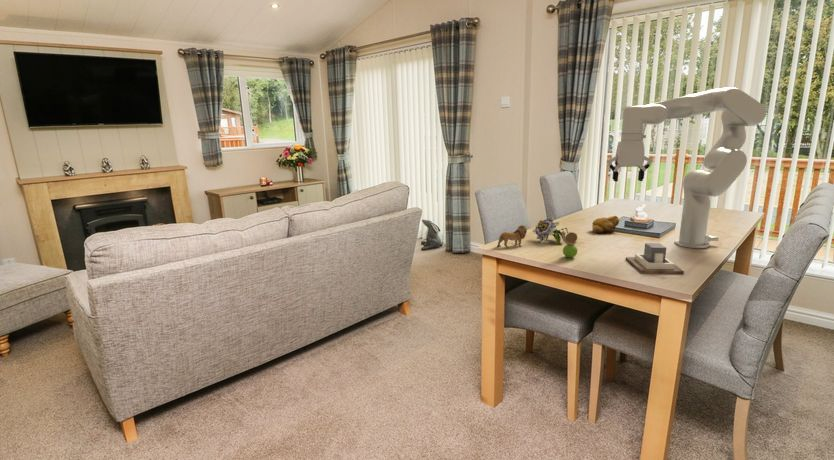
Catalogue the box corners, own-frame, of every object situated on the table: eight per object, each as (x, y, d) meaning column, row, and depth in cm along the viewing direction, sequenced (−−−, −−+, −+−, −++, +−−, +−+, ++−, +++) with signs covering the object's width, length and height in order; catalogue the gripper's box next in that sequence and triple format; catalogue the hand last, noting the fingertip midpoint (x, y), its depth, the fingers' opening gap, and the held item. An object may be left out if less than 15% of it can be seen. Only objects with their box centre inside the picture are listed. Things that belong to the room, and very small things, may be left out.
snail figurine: (557, 256, 176) (559, 227, 174) (573, 255, 177) (575, 226, 174) (563, 260, 171) (565, 230, 168) (579, 259, 172) (581, 229, 169)
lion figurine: (522, 243, 197) (522, 223, 194) (529, 245, 192) (530, 225, 190) (493, 247, 192) (493, 227, 190) (500, 250, 187) (500, 229, 185)
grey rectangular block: (657, 261, 164) (659, 243, 162) (665, 267, 157) (667, 248, 155) (643, 261, 164) (645, 243, 162) (651, 267, 157) (653, 248, 156)
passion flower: (540, 255, 199) (525, 229, 201) (558, 245, 204) (543, 220, 207) (557, 245, 188) (541, 218, 190) (576, 235, 193) (560, 209, 196)
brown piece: (664, 259, 168) (664, 252, 167) (683, 273, 153) (684, 265, 152) (625, 259, 170) (626, 252, 169) (641, 273, 154) (642, 265, 154)
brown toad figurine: (599, 235, 206) (600, 218, 204) (584, 231, 215) (585, 215, 213) (620, 232, 211) (621, 216, 209) (605, 228, 219) (606, 212, 217)
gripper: (650, 137, 177) (646, 179, 181) (605, 138, 179) (602, 180, 183) (658, 137, 170) (653, 181, 174) (611, 138, 172) (608, 182, 176)
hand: (627, 180), depth 179 cm, fingers open, 9 cm apart
